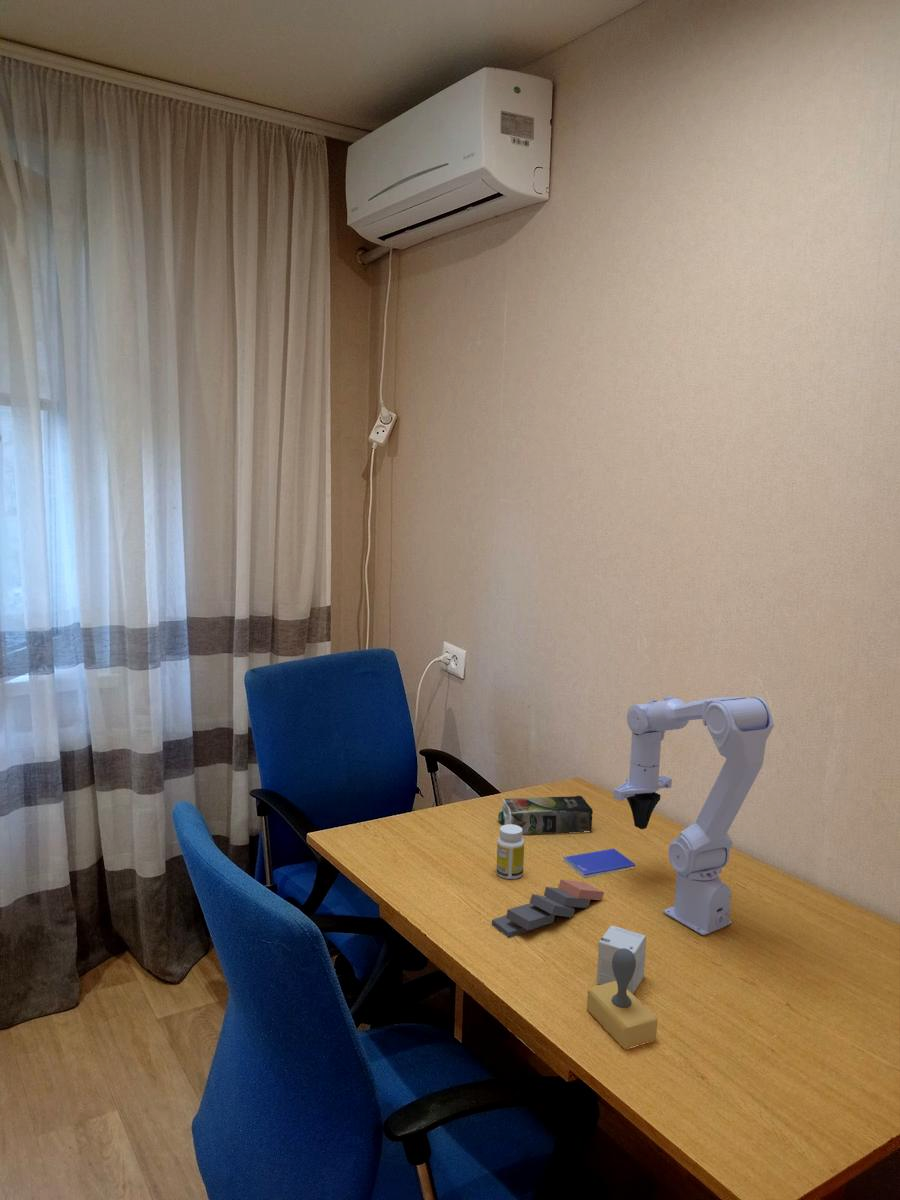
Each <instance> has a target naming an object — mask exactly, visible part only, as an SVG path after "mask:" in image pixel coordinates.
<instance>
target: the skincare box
mask: <svg viewBox="0 0 900 1200" xmlns="http://www.w3.org/2000/svg"><path fill="white" fill-rule="evenodd" d="M646 943H647V935H645V934H641V933H638V932H635V931H631V930H628V929H625V928H622V927H618V926H615V925H610V926H609V928H608V929H607V931H606V932H605V933H604V934H603V936H601V938H600V940H598V953H597V955H598V956H597V977H596V979H597V982H596V983H597V984H598V985H602V984H606V983H609V982H613V981H616V978H615V975H614V972H613V969H612V959H613V956H614V954H615V952H616V951H617V950H619V949H621V948H625V949H628V950H630V951H631V952H632V953H633V955H634V956H635V959H636V968H635V971H634V974H633V977H632V979H631V980H630V982H629V984H628V987H627V990H629V991H630V992H631V993H632V994H633V995H634V993H635V992H636V990H637V988H638V987H639V985H640V984H641V983H642V980H643V979H644V978H645V965H646V964H645V963H646V949H647V948H646V946H647V944H646Z"/></svg>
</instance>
